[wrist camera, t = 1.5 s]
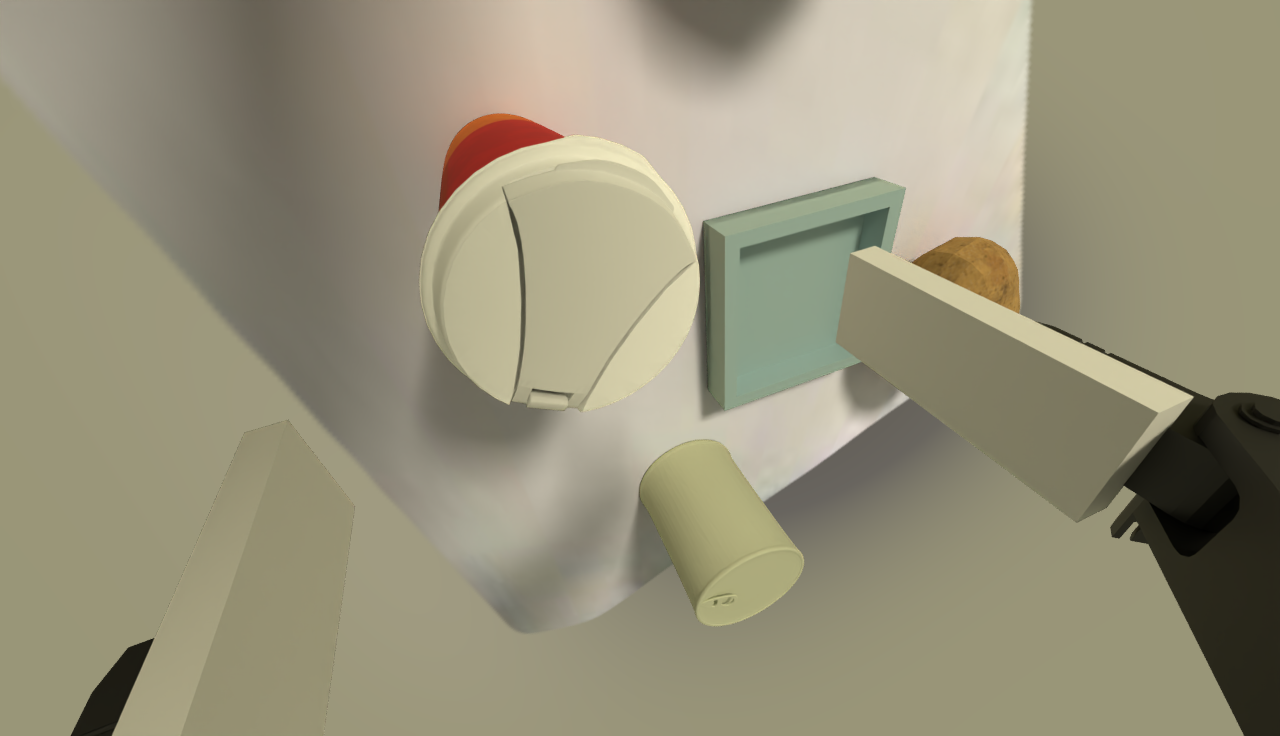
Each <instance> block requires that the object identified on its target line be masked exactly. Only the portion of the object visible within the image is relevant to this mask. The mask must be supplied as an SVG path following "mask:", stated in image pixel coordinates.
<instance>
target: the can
mask: <svg viewBox="0 0 1280 736" xmlns="http://www.w3.org/2000/svg"><path fill="white" fill-rule="evenodd" d="M639 493H640V499H641V501H642V503H643V505H644V506H645V507H646V508H647V510H648V512H649V514H650V516H651V518H652V520H653V522H654V524H655V526H656V528H657V531H658V533H659V535H660V537H661V539H662V541H663V543H664V545H665V547H666V550H667V552H668V554H669V556H670V558H671V560H672V562H673V564H674V566H675V569H676V571H677V573H678V575H679V577H680V579H681V582H682V584H683V586H684V588H685V591H686V593H687V595H688V597H689V599H690V602H691V604H692V606H693V609H694V611H695V615H696V617H697V619H698V620H699V621H700V622H701V623H702V624H704V625H708V626H724V625H729V624H733V623H736V622H739V621H741V620H744V619H747V618H749V617H751V616H753V615H755V614H757V613H759V612H760V611H762V610H764V609H765V608H767V607H769V606H770V605H771V604H773V603H774V602H775V601H777V600H778V599H779V598H780V597H782V596H783V595H784V594H785V593H786V592H787V591H788V590H789V589H790V588H791V587H792V585H794V583H795V582H796V581H797V579H798V578H799V576H800V574H801V572H802V570H803V566H804V557H803V555H802V553H801V552H800V551H799V550H798V549H797V548H796V546H795V545H794V544H793V543H792V541H791V540H790V539H789V537H788V536H787V535H786V533H785V532H784V531H783V530H782V528H781V526H780V525H779V524H778V523H777V521H776V520H775V518H774V517H773V516H772V514H771V513H770V512H769V510H768V509H767V507H766V506H765V505H764V503H763V502H762V500H761V499H760V498H759V496H758V495H757V493H756V492H755V491H754V489H753V488H752V486H751V485H750V484H749V482H748V481H747V479H746V478H745V477H744V475H743V474H742V472H741V471H740V469H739V468H738V467H737V465H736V464H735V462H734V461H733V459H732V457H731V455H730V453H729V451H728V449H727V448H726V447H725V446H724V445H722V444H721V443H719V442H716V441H712V440H695V441H690V442H687V443H684V444H681V445H679V446H676V447H675V448H673V449H671V450H669V451H668V452H666V453H665V454H663V455H662V456H661V457H659V458H658V459H657V460H656V461H655V462H654V463H653V464H652V465H651V466H650V468H649V469H648V470H647V472H646V473H645V475H644V477H643V479H642V481H641V485H640V492H639Z"/></svg>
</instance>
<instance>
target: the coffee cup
mask: <svg viewBox="0 0 1280 736" xmlns="http://www.w3.org/2000/svg"><path fill="white" fill-rule="evenodd" d="M419 287H420V299H421V305H422V309H423V313H424V316H425V320H426V323H427V326H428V328H429V330H430V332H431V334H432V336H433V338H434V340H435V342H436V344H437V345H438V346H439V348H440V349H441V351H442V352H443V353H444V355H445V356H446V357H447V359H448V360H449V361H450V362H451V363H452V364H453V365H454V366H455V367H456V368H457V369H458V370H459V371H460V372H462V373H463V374H464V375H466V376H467V377H468V378H470V379H471V380H472V381H473V382H474V383H475V384H476V385H477V386H478V387H479V388H481V389H482V390H484V391H485V392H486V393H488V394H489V395H491V396H492V397H494V398H496V399H498V400H500V401H502V402H504V403H506V404H508V405H510V401H511V400H512V401H511V402H520V403H524V404H527V406H526V407H528V408H538V409H548V410H558V411H564V410H565V409H566V408H567V407H570V408H578V410H579V411H580V412H581V411H582V412H585V411H589V410H594V409H598V408H601V407H604V406H606V405H609V404H612V403H615V402H617V401H619V400H621V399H623V398H625V397H627V396H629V395H630V394H632V393H634V392H635V391H637V390H638V389H640V388H641V387H643V386H644V385H646V384H647V383H648V382H649V381H650V380H652V379H653V378H654V377H655V376H657V375H658V374H659V373H660V371H661V370H662V369H663V368H664V367H665V366H666V365H667V364H668V363H669V362H670V361H671V359H672V358H673V357H674V355H675V354H676V353H677V351H678V350H679V348H680V347H681V345H682V343H683V341H684V340H685V338H686V336H687V334H688V332H689V330H690V327H691V325H692V322H693V320H694V316H695V312H696V308H697V304H698V298H699V288H700V275H699V263H698V259H697V255H696V246H695V241H694V237H693V232H692V228H691V225H690V222H689V220H688V217H687V215H686V212H685V210H684V208H683V206H682V205H681V203H680V201H679V200H678V198H677V197H676V195H675V193H674V192H673V191H672V189H671V188H670V187H669V186H668V185H667V184H666V183H665V182H664V181H663V179H662V178H661V177H660V176H659V175H658V174H657V172H656V171H655V170H654V169H653V167H652V166H651V165H650V164H649V162H648V161H647V160H646V159H645V157H644V156H642V155H640V154H638V153H636V152H635V151H633V150H631V149H629V148H627V147H625V146H623V145H621V144H618V143H614V142H611V141H608V140H605V139H602V138H597V137H590V136H582V135H571V136H568V137H564V136H562V135H560V134H558V133H556V132H554V131H552V130H550V129H548V128H546V127H544V126H542V125H539V124H537V123H535V122H533V121H531V120H528V119H525V118H523V117H519V116H516V115H510V114H491V115H486V116H482V117H480V118H477V119H475V120H473V121H472V122H470V123H468V124H467V125H466V126H465V127H463V128H462V129H461V130H460V131H459V132H458V134H457V135H456V136H455V138H454V139H453V141H452V143H451V144H450V147H449V149H448V151H447V154H446V158H445V162H444V168H443V174H442V182H441V192H440V202H439V213H438V215H437V217H436V219H435V221H434V223H433V225H432V227H431V229H430V230H429V232H428V235H427V239H426V242H425V245H424V249H423V252H422V256H421V264H420V274H419Z"/></svg>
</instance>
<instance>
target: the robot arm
mask: <svg viewBox="0 0 1280 736" xmlns="http://www.w3.org/2000/svg"><path fill="white" fill-rule="evenodd" d="M836 343H837V344H839V345H840V346H841V347H843V348H844V349H845V350H847V351H848V352H849V353H851V354H852V355H853V356H855V357H856V358H857V359H859V360H860V361H861V362H863V363H864V364H865V365H867V366H868V367H869V368H871V369H872V370H873V371H875V372H876V373H877V374H879V375H880V376H881V377H883V378H884V379H885V380H887V381H888V382H889V383H891V384H892V385H893V386H895V387H896V388H897V389H899V390H900V391H901V392H903V393H904V394H905V395H907V396H908V397H909V398H911V399H912V400H913V401H915V402H916V403H917V404H919V405H920V406H921V407H923V408H924V409H925V410H927V411H928V412H929V413H931V414H932V415H933V416H935V417H936V418H938V419H939V420H940V421H941V422H943V423H944V424H945V425H947V426H948V427H949V428H951V429H952V430H953V431H955V432H956V433H958V434H959V435H960V436H961V437H963V438H964V439H965V440H967V441H968V442H969V443H971V444H972V445H973V446H975V447H976V448H977V449H979V450H980V451H982V452H983V453H984V454H985V455H987V456H988V457H989V458H991V459H992V460H993V461H995V462H996V463H997V464H999V465H1000V466H1001V467H1003V468H1004V469H1005V470H1007V471H1008V472H1009V473H1011V474H1012V475H1013V476H1015V477H1016V478H1017V479H1019V480H1020V481H1021V482H1023V483H1024V484H1025V485H1027V486H1028V487H1029V488H1031V489H1032V490H1033V491H1035V492H1036V493H1037V494H1039V495H1040V496H1041V497H1043V498H1044V499H1045V500H1047V501H1048V502H1049V503H1051V504H1052V505H1053V506H1055V507H1056V508H1057V509H1059V510H1060V511H1061V512H1063V513H1064V514H1065V515H1067V516H1068V517H1069V518H1071V519H1072V520H1073V521H1075V522H1076V523H1077V522H1079V521H1081V520H1083V519H1085V518H1087V517H1089V516H1091V515H1093V514H1095V513H1097V512H1099V511H1101V510H1103V509H1105V508H1107V507H1108V505H1109V504H1110V503H1111V501H1112V500H1113V499H1114V498H1115V496H1116V495H1117V494H1118V493H1119V491H1120V490H1121V489H1122V488H1123V486H1125V487H1127V488H1128V489H1130V490H1132V491H1133V492H1135V493H1136V495H1135V497H1134V498H1133V499H1132V500H1131V501H1130V503H1129V504H1128V505H1127V506H1126V508H1125V509H1124V510H1123V511H1122V512H1121V514H1120V515H1119V516H1118V517H1117V519H1116V520H1115V521H1114V523H1113V524H1112V526H1111V527H1110V528H1111V534H1112V537H1115V538H1120V537H1121V536H1122V535H1123V534H1124V533H1125V532H1126V530H1127V529H1128V528H1129V527H1130V526H1131V525H1132V523H1133V522H1138V524H1139V525H1138V527H1137V528H1136V529H1135V530H1134V531H1133V532H1132V534H1131V537H1130V540H1131V541H1135V542H1141V543H1146V544H1149V546H1150V548H1151V550H1152V552H1153V554H1154V556H1155V558H1156V560H1157V562H1158V564H1159V566H1160V568H1161V570H1162V572H1163V574H1164V576H1165V578H1166V580H1167V582H1168V584H1169V586H1170V588H1171V590H1172V592H1173V594H1174V596H1175V598H1176V600H1177V602H1178V604H1179V606H1180V608H1181V610H1182V612H1183V614H1184V616H1185V618H1186V620H1187V622H1188V624H1189V626H1190V628H1191V630H1192V632H1193V634H1194V636H1195V638H1196V640H1197V642H1198V644H1199V646H1200V648H1201V650H1202V652H1203V654H1204V656H1205V658H1206V660H1207V662H1208V664H1209V666H1210V668H1211V670H1212V672H1213V674H1214V676H1215V678H1216V680H1217V682H1218V684H1219V686H1220V688H1221V690H1222V692H1223V694H1224V696H1225V698H1226V700H1227V702H1228V704H1229V706H1230V708H1231V710H1232V712H1233V714H1234V716H1235V718H1236V720H1237V722H1238V724H1239V726H1240V728H1241V730H1242V732H1243V734H1244V736H1280V400H1279V399H1276V398H1273V397H1269V396H1263V395H1258V394H1252V393H1227V394H1224V395H1220V396H1217V397H1216V399H1215V400H1213V399H1210V398H1208V397H1205V396H1203V395H1200V394H1198V393H1196V392H1193V391H1191V390H1189V389H1187V388H1185V387H1183V386H1181V385H1179V384H1176V383H1174V382H1172V381H1170V380H1168V379H1166V378H1164V377H1161V376H1159V375H1157V374H1155V373H1152V372H1150V371H1149V370H1146V369H1144V368H1142V367H1140V366H1138V365H1136V364H1133V363H1131V362H1129V361H1127V360H1125V359H1123V358H1121V357H1119V356H1116V355H1114V354H1112V353H1110V354H1106V353H1105V350H1104V349H1101V348H1099V347H1097V346H1095V345H1093V344H1090V343H1088V342H1087V343H1083V342H1082V339H1080V338H1078V337H1076V336H1074V335H1071V334H1069V333H1067V332H1065V331H1063V330H1061V329H1059V328H1056V327H1054V326H1050V325H1047V324H1043V323H1040V322H1036V321H1033V320H1031V319H1029V318H1026V317H1024V316H1022V315H1020V314H1018V313H1016V312H1014V311H1012V310H1010V309H1007V308H1005V307H1003V306H1001V305H999V304H997V303H995V302H993V301H991V300H988V299H986V298H984V297H982V296H980V295H978V294H976V293H974V292H972V291H969V290H967V289H965V288H963V287H961V286H959V285H957V284H955V283H953V282H950V281H948V280H946V279H944V278H942V277H940V276H938V275H936V274H934V273H931V272H929V271H927V270H925V269H923V268H921V267H919V266H917V265H915V264H912V263H910V262H908V261H906V260H904V259H902V258H900V257H898V256H896V255H893V254H891V253H889V252H887V251H885V250H883V249H881V248H879V247H876V246H873V247H869V248H866V249H863V250H859V251H856V252H852V253H850V257H849V263H848V269H847V275H846V281H845V288H844V294H843V300H842V306H841V312H840V318H839V324H838V330H837V336H836ZM354 510H355V506H354V504H353V503H352V502H351V501H350V499H349V498H348V497H347V495H346V494H345V493H344V491H343V490H342V489H341V488H340V486H339V485H338V484H337V482H336V481H335V480H334V479H333V477H332V476H331V475H330V473H329V472H328V471H327V470H326V468H325V467H324V466H323V464H322V463H321V462H320V461H319V459H318V458H317V457H316V455H315V454H314V453H313V451H312V450H311V449H310V448H309V446H308V445H307V444H306V443H305V441H304V440H303V439H302V437H301V436H300V435H299V434H298V432H297V431H296V430H295V428H294V427H293V426H292V424H291V423H290V422H289V421H288V420H286V421H283V422H279V423H276V424H272V425H269V426H265V427H262V428H259V429H255V430H252V431H249V432H245V433H244V435H243V437H242V439H241V442H240V444H239V446H238V448H237V451H236V453H235V455H234V458H233V460H232V462H231V464H230V467H229V469H228V471H227V474H226V476H225V479H224V480H223V483H222V485H221V487H220V490H219V492H218V494H217V496H216V499H215V501H214V503H213V506H212V508H211V510H210V512H209V515H208V517H207V519H206V522H205V524H204V526H203V529H202V531H201V533H200V536H199V538H198V540H197V542H196V545H195V547H194V549H193V551H192V554H191V556H190V559H189V561H188V563H187V565H186V567H185V570H184V572H183V574H182V577H181V579H180V581H179V583H178V586H177V589H176V590H175V593H174V595H173V597H172V599H171V602H170V604H169V606H168V609H167V611H166V613H165V615H164V618H163V620H162V622H161V625H160V627H159V629H158V631H157V634H156V636H155V638H153V639H150V640H148V641H145V642H142V643H139V644H137V645H134V646H131V647H129V648H128V649H127V650H126V651H125V652H124V654H123V655H122V656H121V657H120V658H119V660H118V661H117V663H115V665H114V666H113V667H112V668H111V670H110V671H109V672H108V673H107V675H106V676H105V677H104V678H103V680H102V681H101V682H100V683H99V685H98V686H97V687H96V688H95V690H94V691H93V692H92V694H91V696H90V698H89V700H88V702H87V704H86V706H85V708H84V710H83V712H82V714H81V716H80V718H79V720H78V722H77V724H76V726H75V728H74V730H73V732H72V734H71V736H324V729H325V722H326V714H327V707H328V699H329V693H330V685H331V678H332V670H333V663H334V656H335V648H336V641H337V634H338V627H339V619H340V612H341V605H342V597H343V590H344V582H345V576H346V568H347V561H348V554H349V546H350V539H351V532H352V525H353V517H354Z"/></svg>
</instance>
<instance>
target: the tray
mask: <svg viewBox="0 0 1280 736" xmlns="http://www.w3.org/2000/svg"><path fill="white" fill-rule="evenodd" d="M905 190H906V188H905V187H902V186H899V185H896V184H893V183H890V182H887V181H884V180H881V179H879V178H876V177H873V178H869V179H865V180H861V181H857V182H853V183H850V184H846V185H842V186H838V187H834V188H830V189H826V190H822V191H819V192H815V193H811V194H807V195H803V196H799V197H795V198H791V199H788V200H784V201H780V202H776V203H772V204H768V205H764V206H760V207H757V208H753V209H749V210H745V211H741V212H737V213H733V214H729V215H726V216H722V217H718V218H714V219H710V220H706V221H703V229H704V266H705V303H706V339H707V376H708V390H709V392H710V393H711V394H712V395H713V397H714V398H715V399H716V400H717V402H718V403H719V404H720V406H721V407H722V408H723V409H724V411H726V410H729V409H731V408H734V407H737V406H740V405H743V404H745V403H748V402H751V401H754V400H757V399H759V398H762V397H765V396H768V395H771V394H774V393H776V392H779V391H782V390H785V389H788V388H790V387H793V386H796V385H799V384H802V383H804V382H807V381H810V380H813V379H816V378H818V377H821V376H824V375H827V374H830V373H832V372H835V371H838V370H841V369H844V368H846V367H849V366H852V365H855V364H858V363H860V362H861V361H860V360H859V359H857V358H856V357H855V356H853V355H852V354H851V353H849V352H848V351H847V350H845V349H844V348H843V347H841V346H840V345H839V344H837V343H836V336H837V330H838V324H839V318H840V312H841V306H842V300H843V294H844V288H845V281H846V275H847V269H848V263H849V257H850V253H852V252H856V251H859V250H863V249H866V248H869V247H873V246H876V247H879V248H881V249H883V250H885V251H887V252H889V253H891V250H892V246H893V242H894V238H895V233H896V229H897V225H898V220H899V216H900V212H901V207H902V203H903V199H904V194H905Z"/></svg>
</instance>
